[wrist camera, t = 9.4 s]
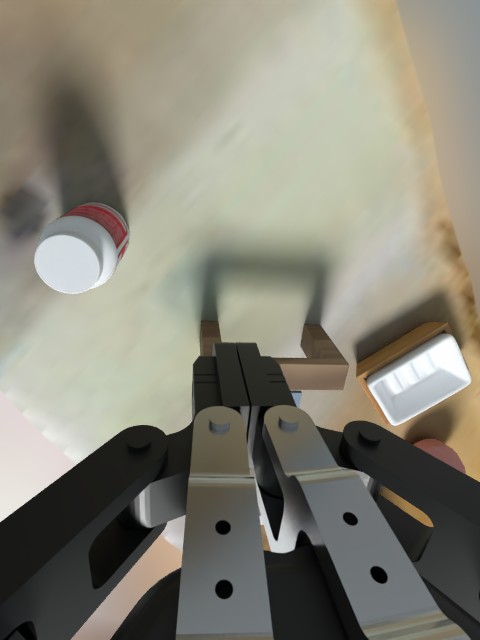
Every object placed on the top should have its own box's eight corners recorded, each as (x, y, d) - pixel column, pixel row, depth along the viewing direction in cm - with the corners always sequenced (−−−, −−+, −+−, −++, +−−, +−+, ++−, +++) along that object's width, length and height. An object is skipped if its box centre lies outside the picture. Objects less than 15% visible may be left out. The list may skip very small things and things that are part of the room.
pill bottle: (63, 199, 36) (15, 221, 26) (128, 203, 37) (106, 225, 27) (71, 261, 39) (30, 302, 29) (131, 263, 40) (112, 304, 30)
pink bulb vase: (453, 437, 57) (514, 505, 46) (423, 472, 60) (475, 544, 49) (414, 423, 55) (469, 492, 44) (385, 460, 57) (430, 534, 47)
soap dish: (374, 408, 53) (391, 433, 48) (344, 361, 49) (360, 384, 44) (454, 362, 51) (480, 384, 47) (430, 309, 47) (456, 327, 42)
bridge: (201, 321, 43) (203, 362, 35) (320, 324, 46) (349, 365, 37) (199, 343, 45) (202, 389, 36) (315, 346, 47) (343, 389, 39)
